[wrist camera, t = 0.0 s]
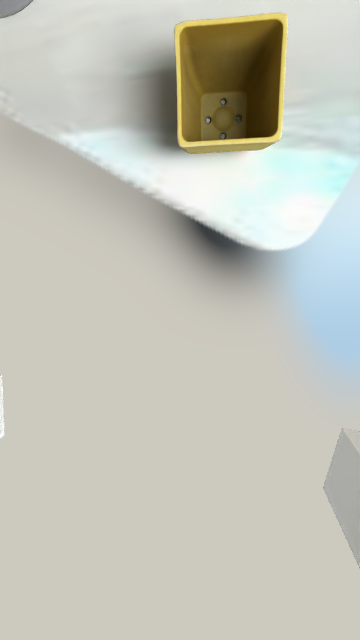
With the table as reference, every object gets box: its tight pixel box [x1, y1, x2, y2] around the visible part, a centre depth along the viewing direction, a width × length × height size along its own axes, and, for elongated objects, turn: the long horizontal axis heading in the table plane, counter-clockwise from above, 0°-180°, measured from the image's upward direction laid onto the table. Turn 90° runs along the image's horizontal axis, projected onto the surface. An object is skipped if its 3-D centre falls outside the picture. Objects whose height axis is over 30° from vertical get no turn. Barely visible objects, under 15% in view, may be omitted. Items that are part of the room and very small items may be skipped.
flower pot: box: [174, 13, 288, 154], centre depth 29 cm, size 9×9×9 cm
